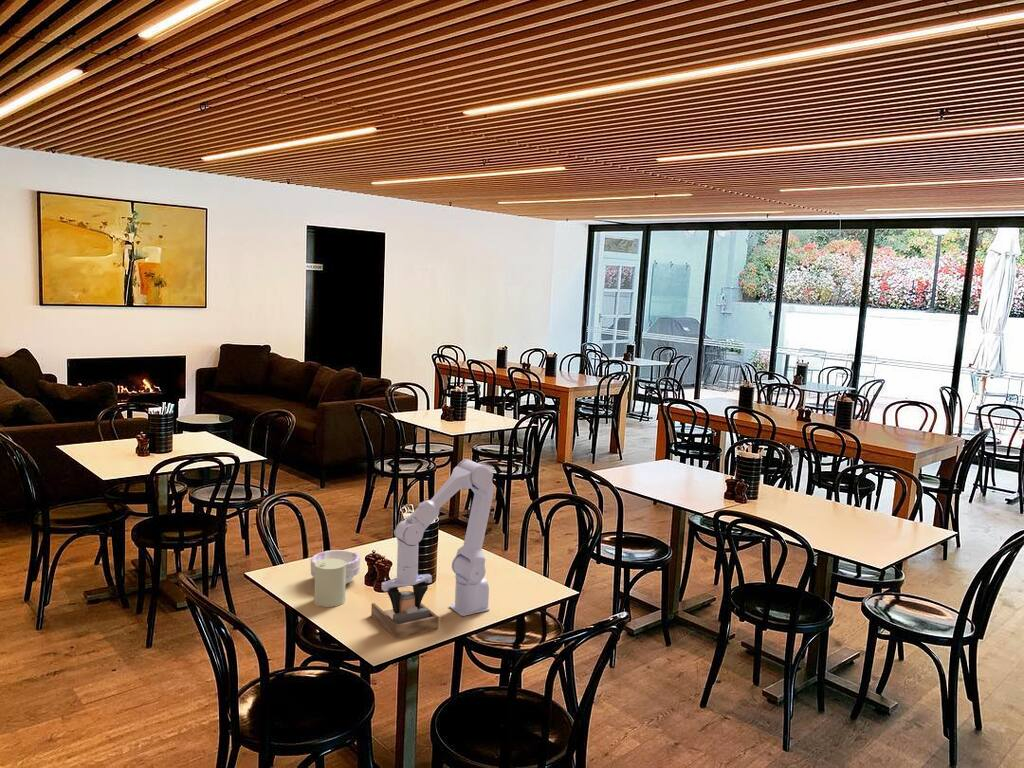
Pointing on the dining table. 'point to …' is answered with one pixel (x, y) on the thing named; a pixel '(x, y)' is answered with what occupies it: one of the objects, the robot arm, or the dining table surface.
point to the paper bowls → (348, 556)
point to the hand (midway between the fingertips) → (406, 610)
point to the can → (330, 582)
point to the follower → (411, 615)
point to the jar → (406, 600)
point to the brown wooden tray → (407, 627)
